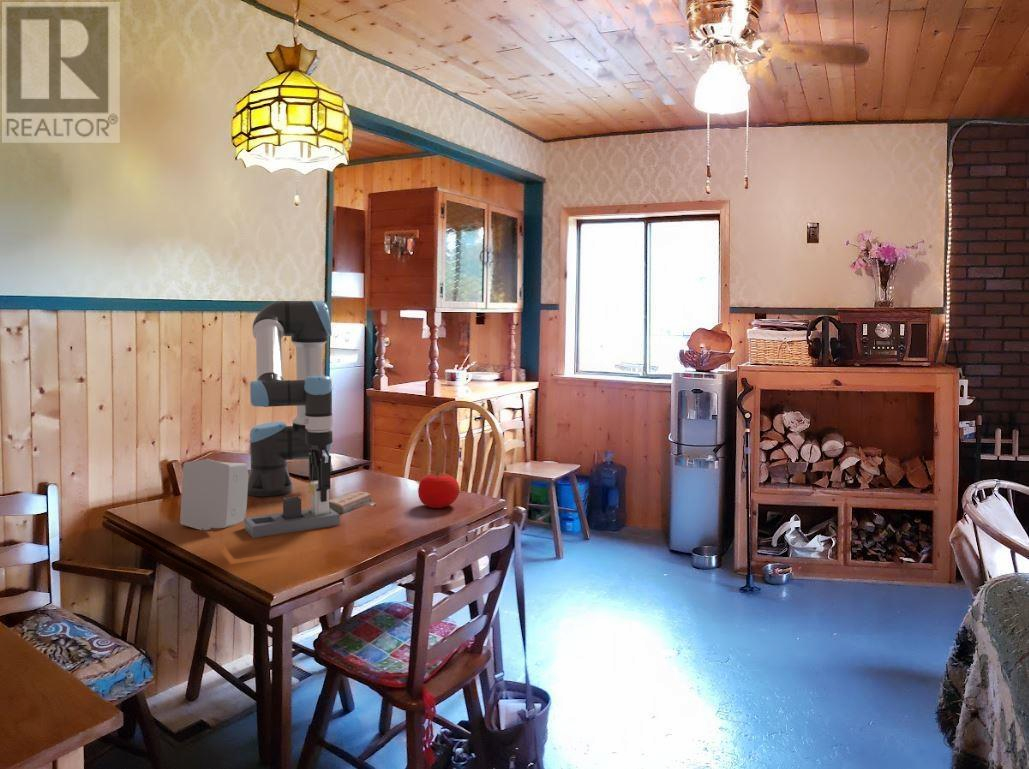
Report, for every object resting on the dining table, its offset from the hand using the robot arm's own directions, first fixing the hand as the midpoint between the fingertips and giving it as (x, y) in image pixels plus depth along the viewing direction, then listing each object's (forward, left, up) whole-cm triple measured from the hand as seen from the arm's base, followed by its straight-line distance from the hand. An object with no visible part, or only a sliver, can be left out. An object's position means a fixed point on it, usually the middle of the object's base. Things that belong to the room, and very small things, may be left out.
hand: (320, 510), depth 217 cm
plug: (0, 0, -4) cm, 4 cm away
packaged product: (-12, +12, -5) cm, 18 cm away
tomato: (-2, +39, -5) cm, 39 cm away
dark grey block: (0, -8, -4) cm, 9 cm away
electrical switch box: (-18, -24, -5) cm, 30 cm away
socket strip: (0, -8, -5) cm, 9 cm away
